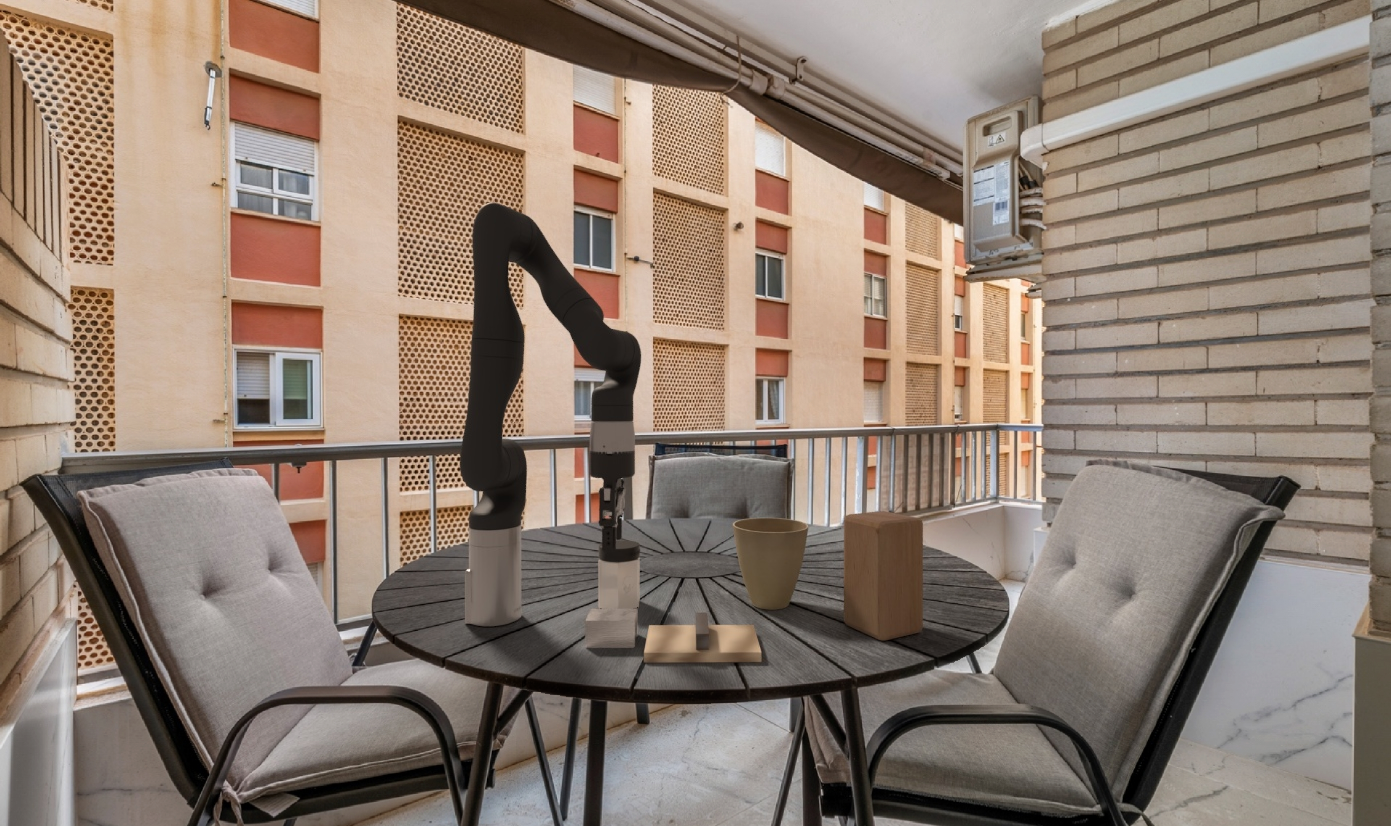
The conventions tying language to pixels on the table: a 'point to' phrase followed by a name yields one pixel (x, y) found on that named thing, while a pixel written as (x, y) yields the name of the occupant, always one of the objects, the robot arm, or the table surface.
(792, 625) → the table surface
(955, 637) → the table surface
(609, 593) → the jar
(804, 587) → the table surface
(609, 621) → the notched grey block
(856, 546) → the wooden block
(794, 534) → the plant pot
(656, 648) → the stand
